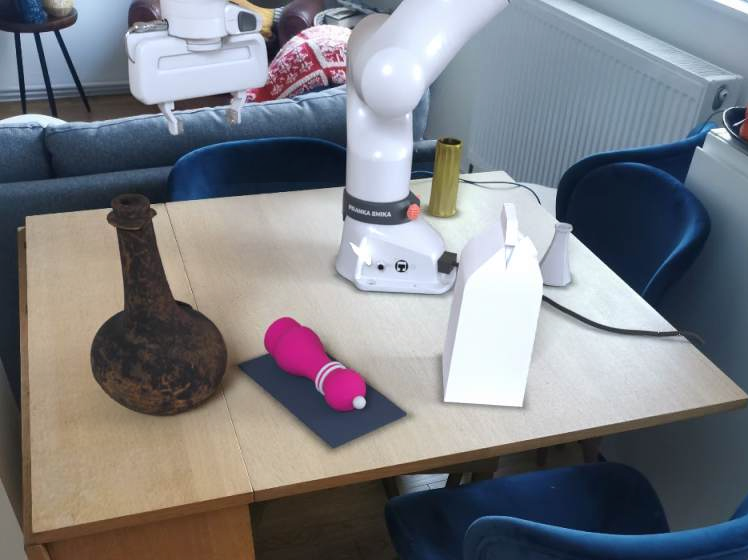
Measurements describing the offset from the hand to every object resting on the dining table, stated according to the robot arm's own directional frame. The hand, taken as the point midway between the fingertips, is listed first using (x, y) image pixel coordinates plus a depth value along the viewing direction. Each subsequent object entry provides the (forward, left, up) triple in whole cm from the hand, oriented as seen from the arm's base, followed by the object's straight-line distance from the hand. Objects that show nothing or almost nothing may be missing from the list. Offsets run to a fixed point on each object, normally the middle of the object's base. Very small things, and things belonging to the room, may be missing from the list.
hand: (205, 128), depth 110 cm
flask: (-55, -26, -27) cm, 67 cm away
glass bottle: (-2, +29, -27) cm, 40 cm away
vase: (-31, -50, -27) cm, 65 cm away
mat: (-22, +21, -27) cm, 41 cm away
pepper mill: (-15, +15, -23) cm, 31 cm away
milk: (-45, +12, -27) cm, 55 cm away
